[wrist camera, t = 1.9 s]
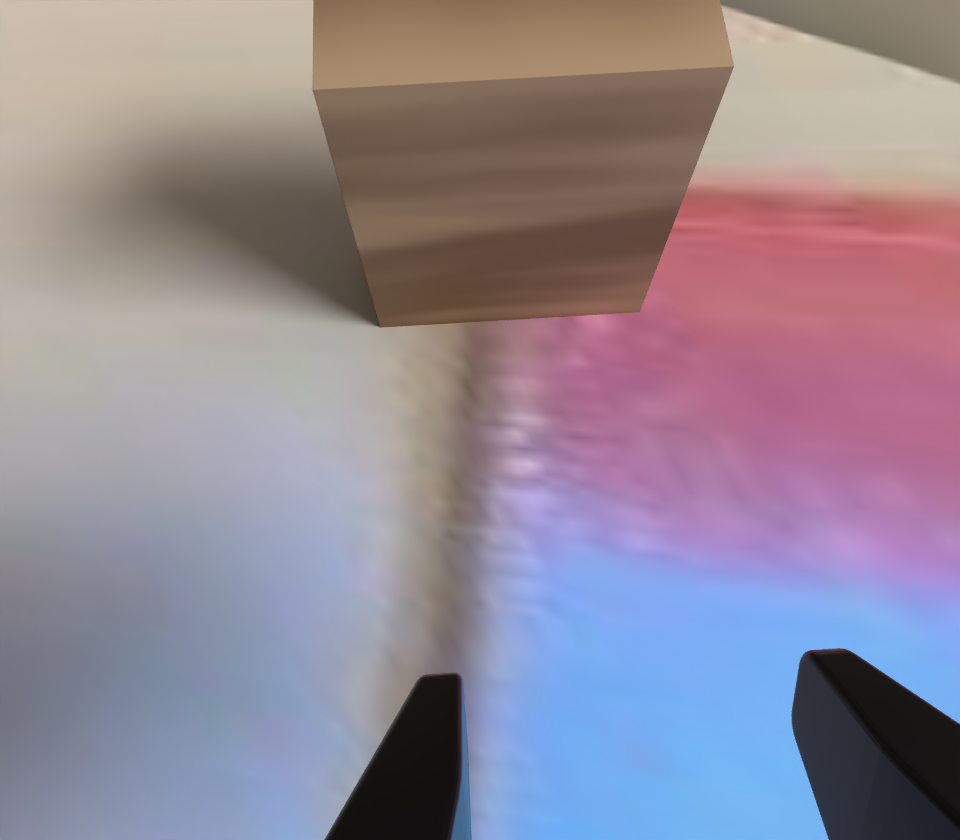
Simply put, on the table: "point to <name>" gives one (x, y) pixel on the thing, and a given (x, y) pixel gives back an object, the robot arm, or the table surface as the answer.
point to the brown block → (514, 146)
